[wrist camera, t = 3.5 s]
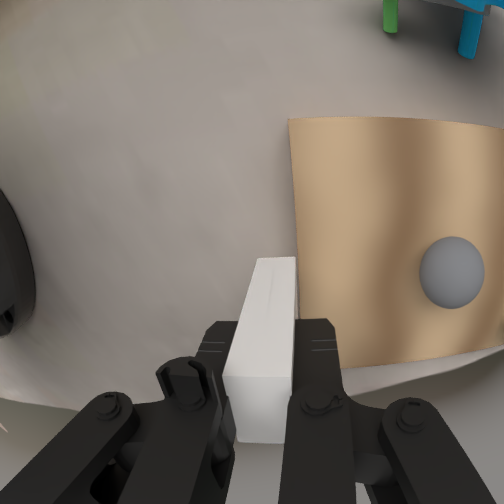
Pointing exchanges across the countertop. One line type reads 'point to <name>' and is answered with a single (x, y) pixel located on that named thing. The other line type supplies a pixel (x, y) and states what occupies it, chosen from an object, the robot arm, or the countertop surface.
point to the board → (396, 231)
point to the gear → (475, 6)
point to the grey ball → (451, 272)
